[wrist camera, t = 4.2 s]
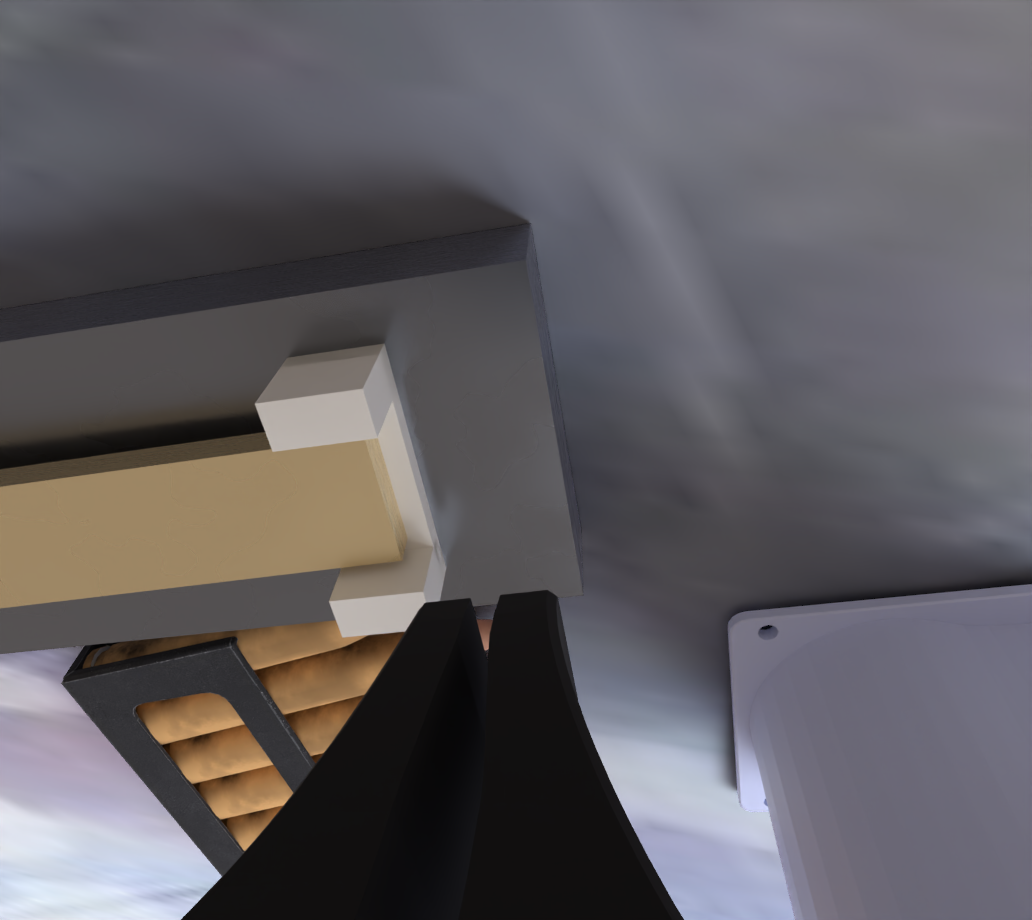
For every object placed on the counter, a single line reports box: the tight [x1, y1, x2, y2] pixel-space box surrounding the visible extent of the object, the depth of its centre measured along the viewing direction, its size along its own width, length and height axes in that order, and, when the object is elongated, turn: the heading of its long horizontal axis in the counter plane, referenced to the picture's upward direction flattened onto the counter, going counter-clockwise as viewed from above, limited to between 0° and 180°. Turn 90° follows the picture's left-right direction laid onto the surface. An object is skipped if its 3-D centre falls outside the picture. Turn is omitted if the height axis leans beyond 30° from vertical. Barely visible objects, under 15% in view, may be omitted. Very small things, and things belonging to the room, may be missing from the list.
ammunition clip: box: [61, 619, 493, 876], centre depth 24 cm, size 11×2×12 cm
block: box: [0, 223, 583, 654], centre depth 19 cm, size 19×8×4 cm, turn 100°
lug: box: [255, 344, 446, 638], centre depth 17 cm, size 2×6×2 cm, turn 10°
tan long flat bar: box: [0, 432, 408, 608], centre depth 18 cm, size 15×3×1 cm, turn 100°
